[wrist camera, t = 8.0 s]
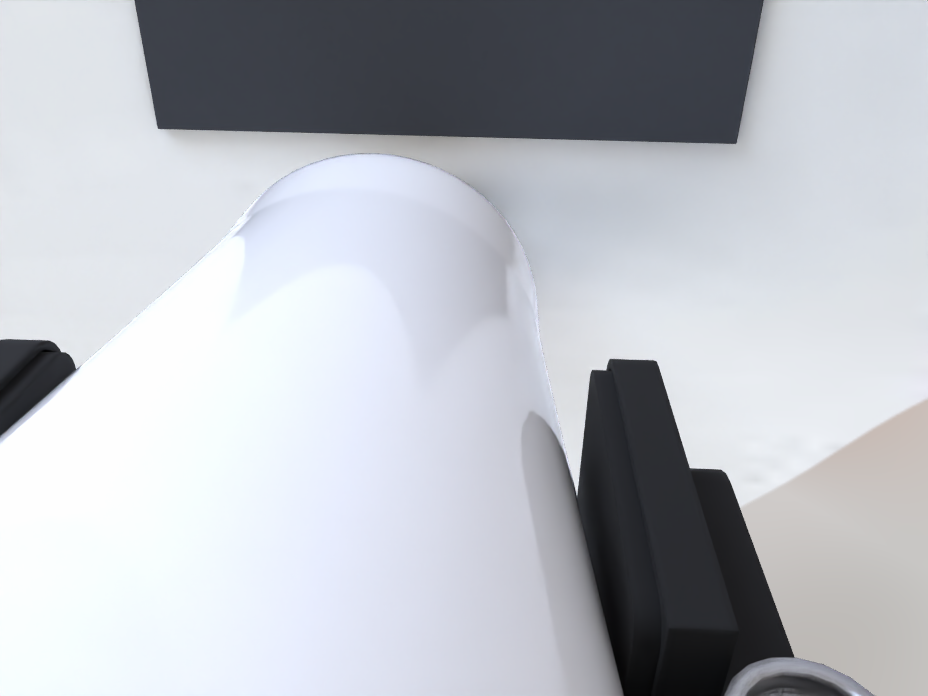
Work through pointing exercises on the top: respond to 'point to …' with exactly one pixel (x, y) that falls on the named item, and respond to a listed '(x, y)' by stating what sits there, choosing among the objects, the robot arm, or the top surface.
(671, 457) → the robot arm
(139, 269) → the top surface
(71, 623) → the drinking glass
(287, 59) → the placemat
